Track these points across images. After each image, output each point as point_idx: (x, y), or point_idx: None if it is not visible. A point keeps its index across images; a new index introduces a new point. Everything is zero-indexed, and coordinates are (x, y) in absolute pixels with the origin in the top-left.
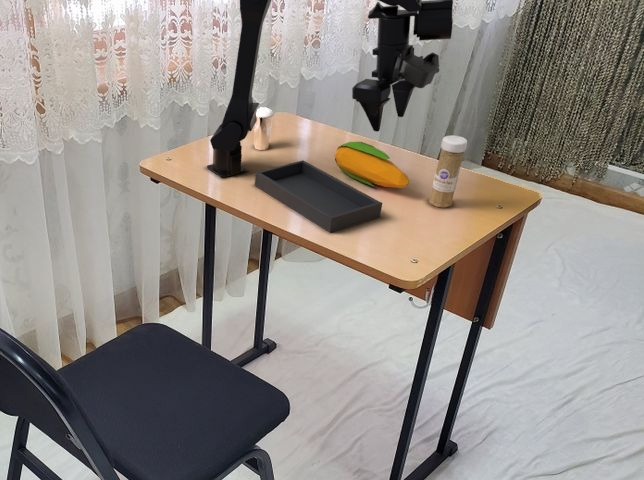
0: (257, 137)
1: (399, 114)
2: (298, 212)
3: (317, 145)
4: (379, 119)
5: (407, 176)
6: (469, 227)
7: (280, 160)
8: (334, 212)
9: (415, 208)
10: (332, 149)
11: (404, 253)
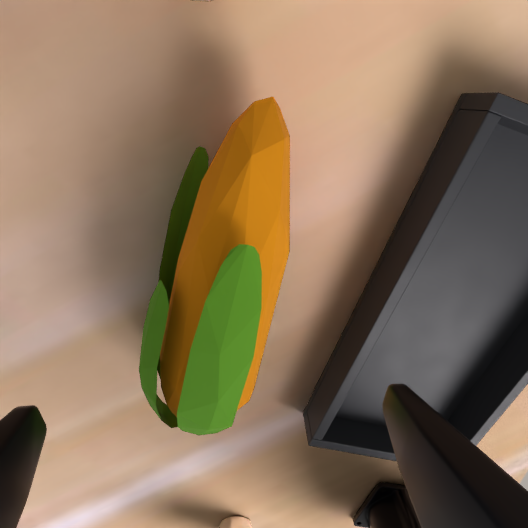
0: None
1: (36, 438)
2: None
3: (119, 470)
4: (504, 474)
5: (240, 122)
6: None
7: (268, 473)
8: (518, 223)
9: (312, 16)
10: (107, 439)
11: None
